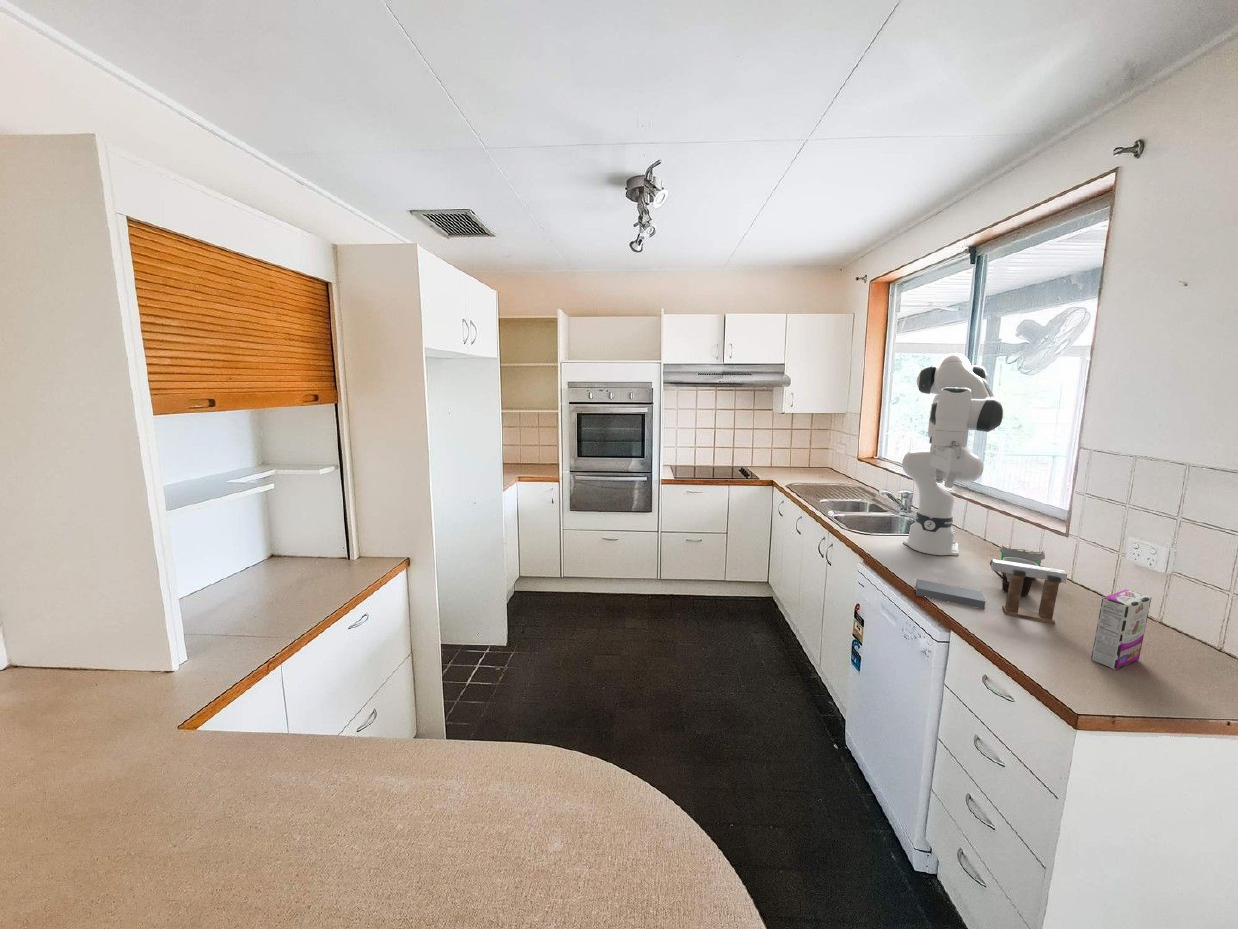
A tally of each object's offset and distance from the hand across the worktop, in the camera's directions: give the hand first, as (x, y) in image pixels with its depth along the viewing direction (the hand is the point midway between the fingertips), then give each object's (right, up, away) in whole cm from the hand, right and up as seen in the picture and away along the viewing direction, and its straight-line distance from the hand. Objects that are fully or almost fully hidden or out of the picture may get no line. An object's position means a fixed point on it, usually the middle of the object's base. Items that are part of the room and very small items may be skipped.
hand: (943, 484), depth 150 cm
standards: (+16, -37, -12) cm, 42 cm away
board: (+1, -35, -1) cm, 35 cm away
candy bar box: (+19, -41, -33) cm, 56 cm away
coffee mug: (+25, -34, +5) cm, 43 cm away
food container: (+36, -33, +14) cm, 51 cm away
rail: (+15, -25, -13) cm, 32 cm away
